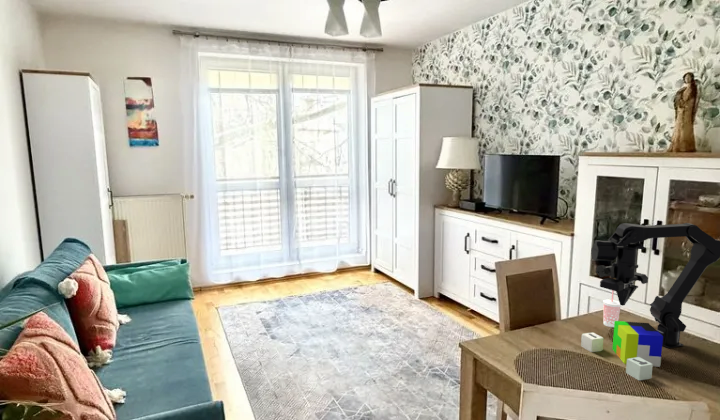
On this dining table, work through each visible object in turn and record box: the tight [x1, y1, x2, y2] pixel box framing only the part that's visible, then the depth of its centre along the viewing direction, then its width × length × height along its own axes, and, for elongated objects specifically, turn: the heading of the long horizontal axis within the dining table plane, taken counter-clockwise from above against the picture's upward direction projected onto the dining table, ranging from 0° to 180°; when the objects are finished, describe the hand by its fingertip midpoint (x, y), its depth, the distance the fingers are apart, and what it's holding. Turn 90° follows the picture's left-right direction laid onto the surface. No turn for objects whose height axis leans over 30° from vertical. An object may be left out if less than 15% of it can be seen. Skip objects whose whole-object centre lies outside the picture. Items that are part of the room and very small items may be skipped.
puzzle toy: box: [611, 320, 663, 368], centre depth 136 cm, size 10×10×10 cm
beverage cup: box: [602, 290, 622, 328], centre depth 161 cm, size 6×6×14 cm
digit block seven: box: [625, 357, 654, 381], centre depth 126 cm, size 4×4×5 cm
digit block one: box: [580, 332, 604, 353], centre depth 143 cm, size 4×4×5 cm
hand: (622, 305), depth 147 cm, fingers closed
